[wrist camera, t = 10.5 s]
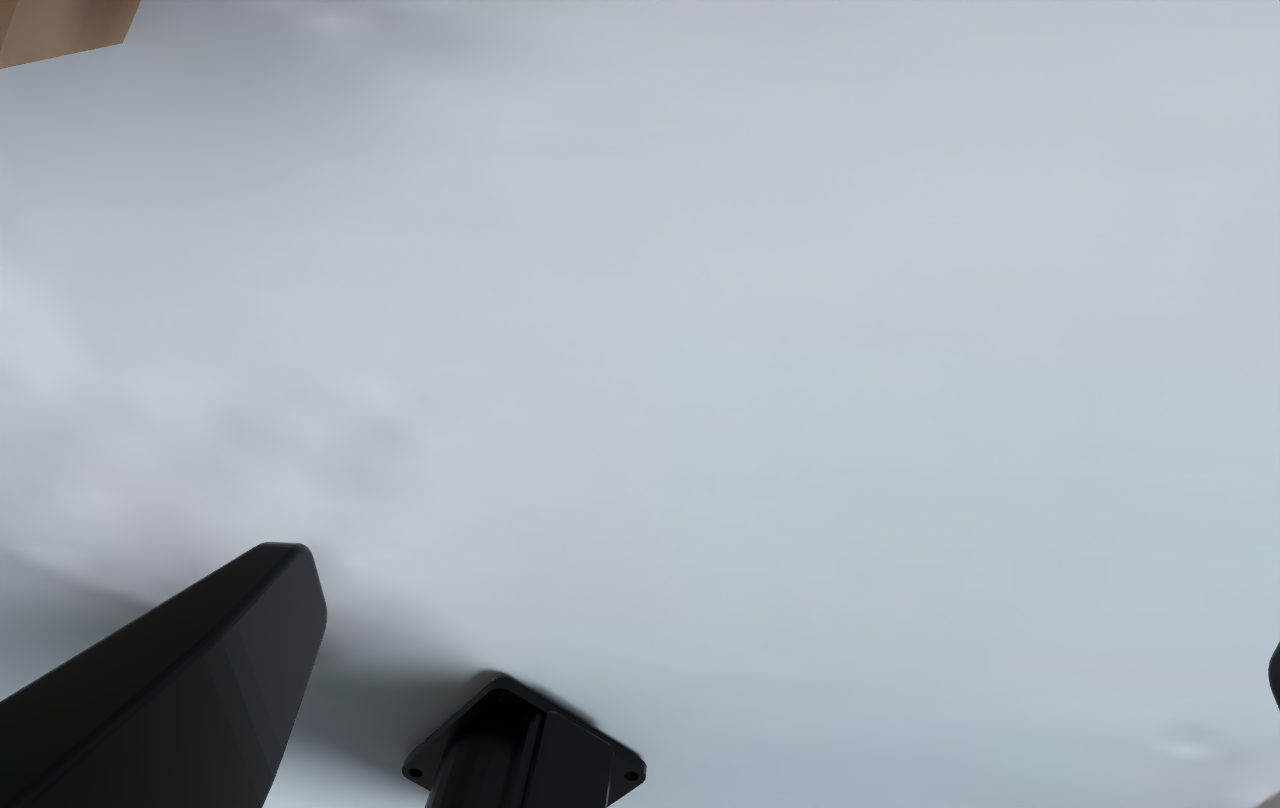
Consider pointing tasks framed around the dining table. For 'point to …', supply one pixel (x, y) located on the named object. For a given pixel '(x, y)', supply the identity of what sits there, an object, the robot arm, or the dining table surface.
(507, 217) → the dining table surface
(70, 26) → the walnut base block
